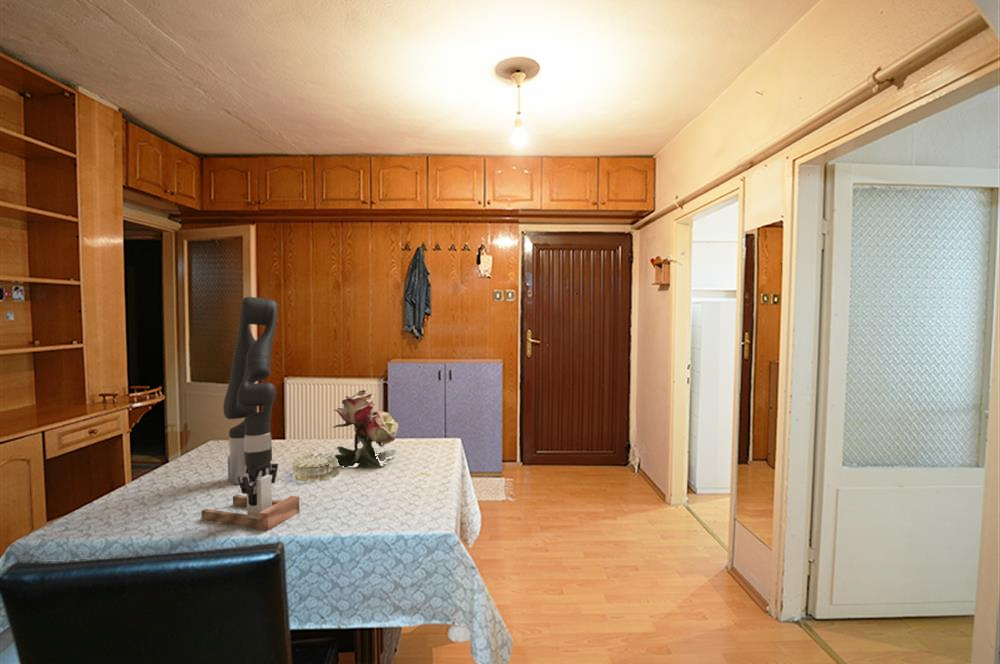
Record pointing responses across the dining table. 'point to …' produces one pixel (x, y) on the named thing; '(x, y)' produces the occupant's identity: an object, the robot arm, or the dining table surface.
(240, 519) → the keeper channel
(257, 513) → the skincare box
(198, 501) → the dining table surface
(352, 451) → the rose bouquet
